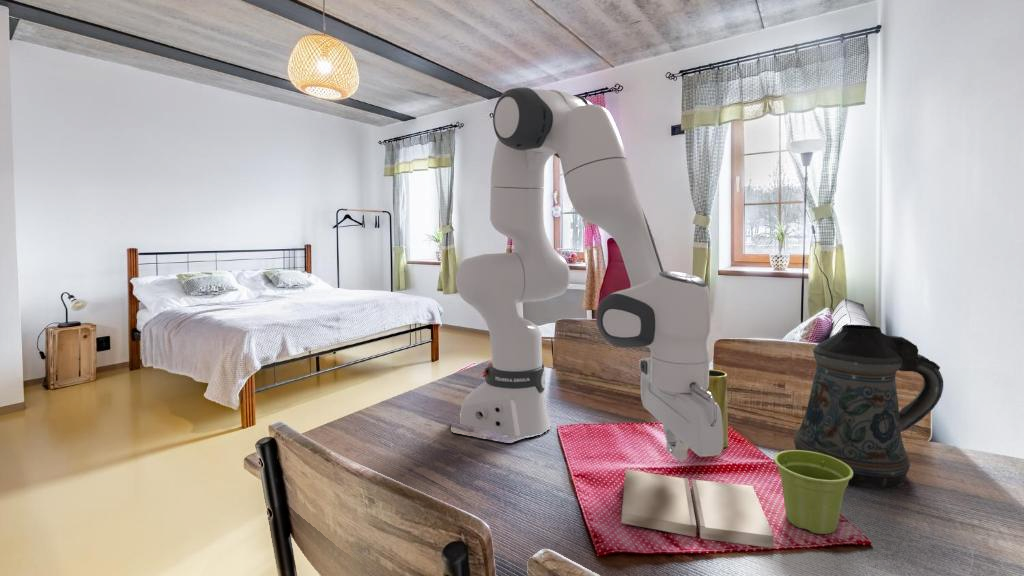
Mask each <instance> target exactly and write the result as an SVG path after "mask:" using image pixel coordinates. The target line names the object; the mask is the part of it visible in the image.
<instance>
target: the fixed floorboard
mask: <svg viewBox="0 0 1024 576" xmlns="http://www.w3.org/2000/svg"><path fill="white" fill-rule="evenodd" d="M691 495H692V501H693V506H694V512H695V515H696V516H695V518H696V523H697V525H698V526H697V527H698V531H699V533H698V534H699V538H700V539H701V540H702V539H703V540H709V541H718V542H725V543H733V544H740V545H747V546H754V547H760V548H761V547H762V548H770V549H774V548H775V547H774V545H775V542H774V539H775V538H774V536H775V535H774V533H773V531H772V529H771V526H770V524H769V522H768V519H767V517H766V515H765V512H764V510H763V508H762V504H761V502H760V500H759V498H758V496H757V494H756V490H755V489H754V486H753V485H747V484H741V483H740V484H738V483H730V482H728V483H727V482H721V481H720V482H718V481H709V480H699V479H695V478H691Z"/></svg>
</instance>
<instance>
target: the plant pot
mask: <svg viewBox="0 0 1024 576" xmlns="http://www.w3.org/2000/svg"><path fill="white" fill-rule="evenodd" d="M773 461H774V463H775V465H776V467H777V470H778V473H779V474H780V480H781V485H782V486H781V487H782V493H783V494H782V495H783V499H784V500H783V501H784V508H785V509H784V510H785V516H786V519H787V521H788V522H789V523H791V524H792V525H793V526H795V527H797V528H798V529H806V530H808V531H809V532H811V533H813V534H820V535H825V534H826V535H828V534H832V533H834V532H835V531H836V529H837V527H838V523H839V520H840V515H841V509H842V505H843V500H844V499H843V498H844V495H845V491H846V488H847V487H848V486H849V485H848V482H849V480H850V479H851V478H852V477H853V471H852V469H851V468H850V467H849V466H848V465H847V464H846V463H844V462H842V461H840V460H838V459H836V458H834V457H831V456H828V455H824V454H821V453H817V452H811V451H803V450H796V449H789V450H783V451H780V452H777V453H776V454H775V455H774V457H773Z"/></svg>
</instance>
